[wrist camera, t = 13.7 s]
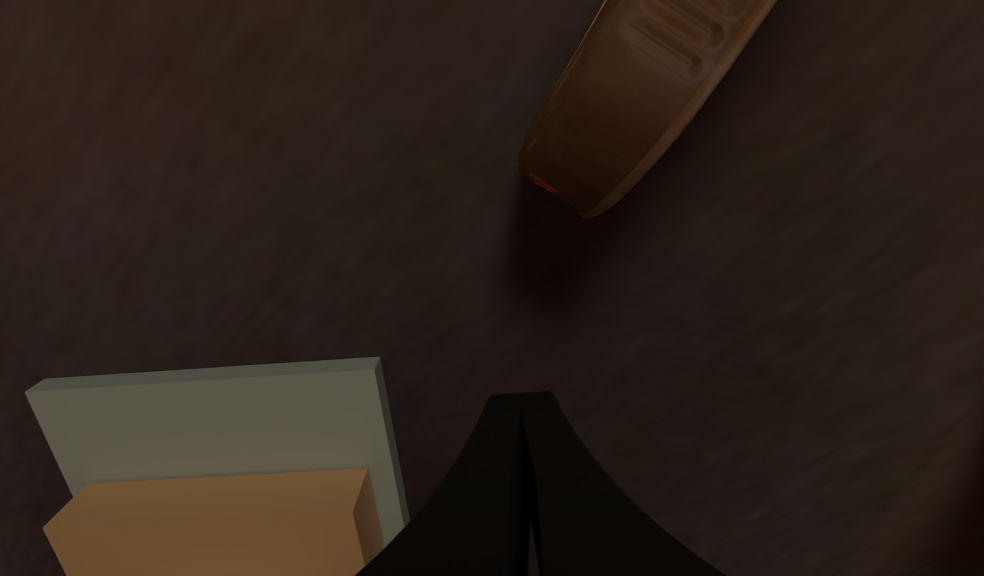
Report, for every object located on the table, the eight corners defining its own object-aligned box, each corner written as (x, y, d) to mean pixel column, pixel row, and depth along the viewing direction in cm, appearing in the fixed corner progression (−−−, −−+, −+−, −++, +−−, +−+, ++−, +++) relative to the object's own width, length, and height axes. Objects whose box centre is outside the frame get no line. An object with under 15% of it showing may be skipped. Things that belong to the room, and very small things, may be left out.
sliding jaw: (383, 542, 24) (370, 591, 22) (119, 554, 24) (80, 603, 22) (367, 468, 22) (352, 512, 20) (87, 483, 23) (42, 527, 21)
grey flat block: (430, 629, 27) (419, 705, 24) (160, 640, 28) (114, 714, 25) (379, 356, 22) (357, 406, 18) (44, 378, 22) (-35, 430, 19)
